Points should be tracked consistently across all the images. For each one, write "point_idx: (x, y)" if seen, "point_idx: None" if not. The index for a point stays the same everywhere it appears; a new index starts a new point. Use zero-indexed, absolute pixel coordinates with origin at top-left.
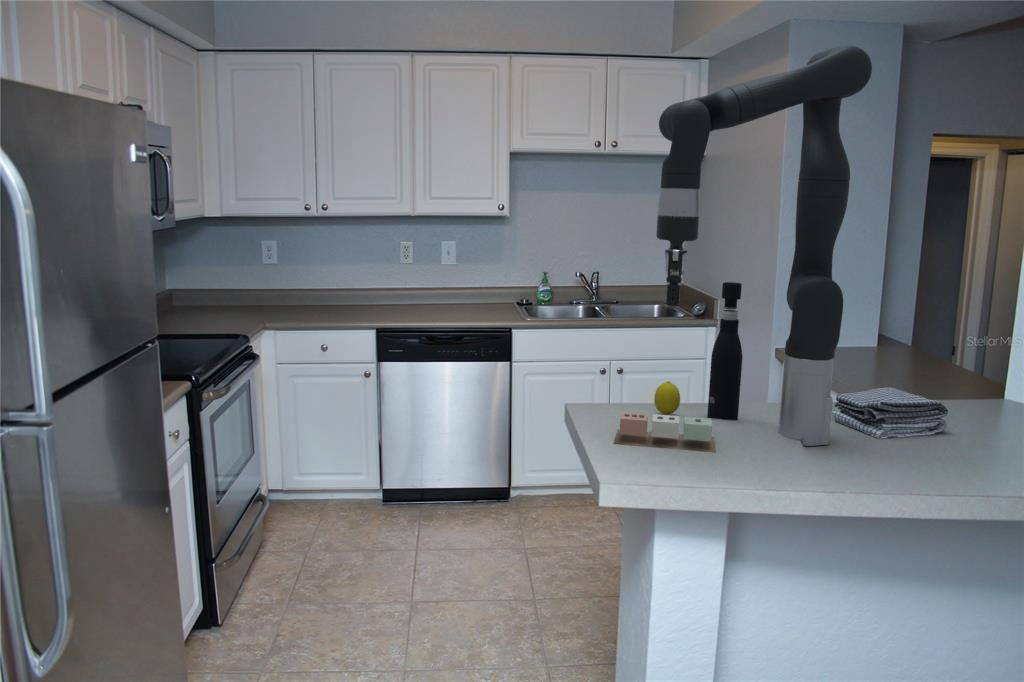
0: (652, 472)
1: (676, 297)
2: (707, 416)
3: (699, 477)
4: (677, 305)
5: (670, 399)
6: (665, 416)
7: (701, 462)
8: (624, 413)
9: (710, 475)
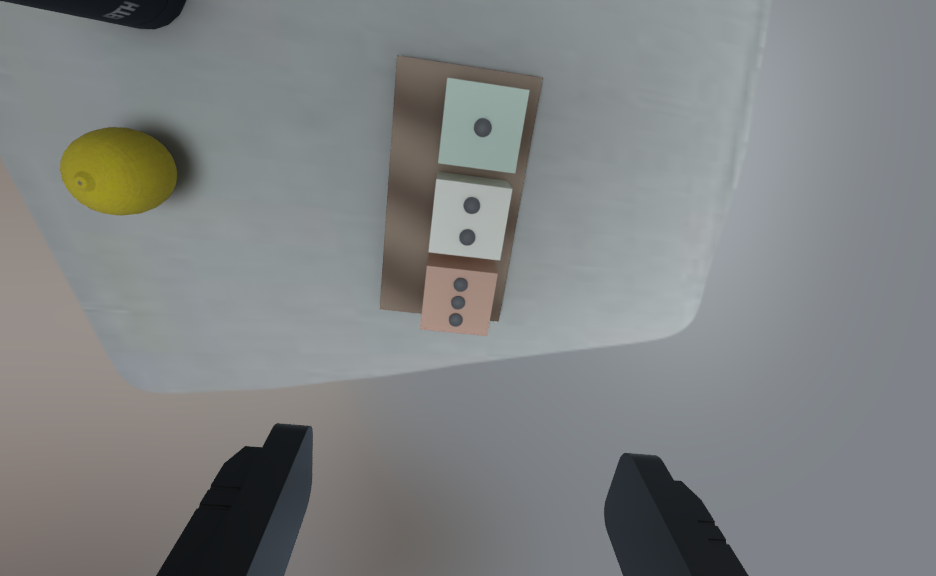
0: (639, 245)
1: (712, 525)
2: (137, 27)
3: (673, 146)
4: (651, 456)
5: (159, 167)
6: (446, 220)
7: (570, 123)
8: (434, 324)
9: (661, 117)
